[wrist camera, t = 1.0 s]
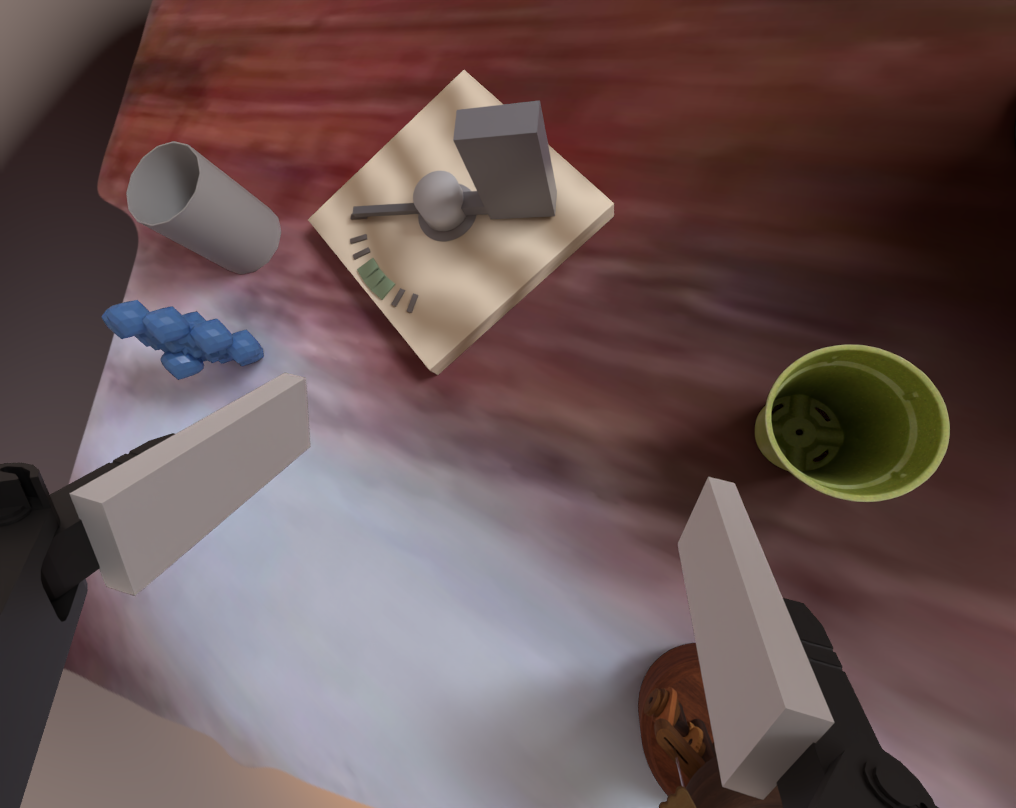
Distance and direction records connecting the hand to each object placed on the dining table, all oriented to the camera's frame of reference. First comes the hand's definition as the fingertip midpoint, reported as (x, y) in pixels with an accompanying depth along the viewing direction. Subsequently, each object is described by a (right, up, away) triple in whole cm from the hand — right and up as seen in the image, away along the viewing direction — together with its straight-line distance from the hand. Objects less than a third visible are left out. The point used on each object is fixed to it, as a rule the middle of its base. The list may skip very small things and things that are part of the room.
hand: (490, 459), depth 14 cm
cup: (-29, +20, +36) cm, 50 cm away
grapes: (-29, +6, +34) cm, 45 cm away
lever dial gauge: (-5, +20, +27) cm, 34 cm away
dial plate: (-5, +20, +30) cm, 36 cm away
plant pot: (+23, -1, +20) cm, 31 cm away
